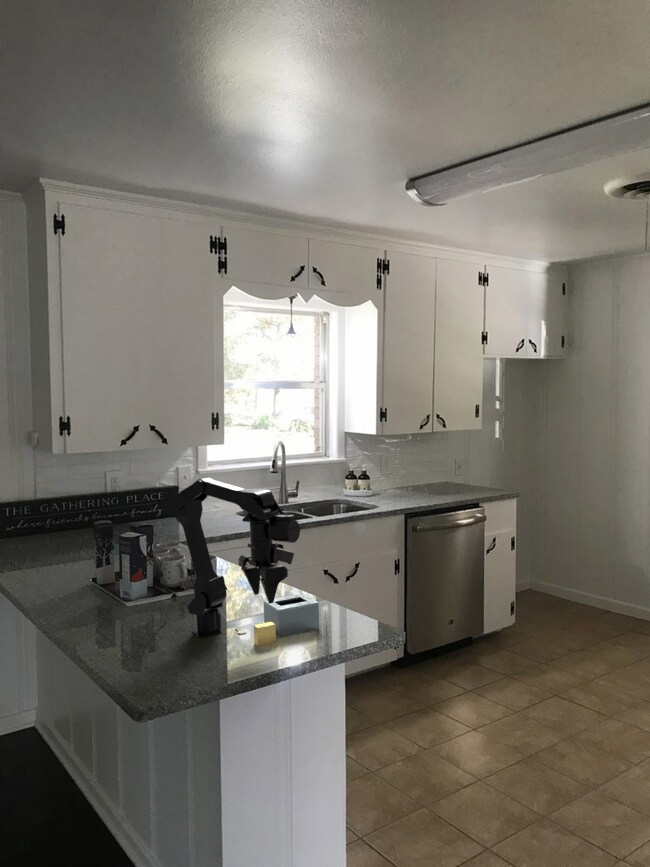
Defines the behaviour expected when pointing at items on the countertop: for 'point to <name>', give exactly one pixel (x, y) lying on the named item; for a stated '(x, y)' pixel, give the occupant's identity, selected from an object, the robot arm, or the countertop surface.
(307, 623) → the box
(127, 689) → the countertop surface
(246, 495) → the robot arm
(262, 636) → the block
